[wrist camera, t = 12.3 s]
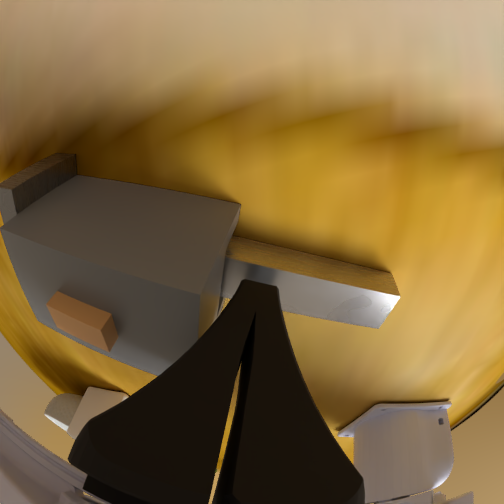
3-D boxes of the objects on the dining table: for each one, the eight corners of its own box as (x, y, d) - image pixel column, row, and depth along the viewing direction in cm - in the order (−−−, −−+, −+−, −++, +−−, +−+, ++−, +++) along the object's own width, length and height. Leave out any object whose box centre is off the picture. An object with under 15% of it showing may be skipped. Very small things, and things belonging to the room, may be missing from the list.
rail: (416, 225, 9) (457, 291, 6) (352, 337, 13) (358, 402, 10) (55, 153, 10) (-5, 186, 7) (75, 265, 14) (37, 309, 11)
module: (241, 204, 10) (191, 317, 5) (225, 297, 13) (191, 403, 8) (77, 175, 10) (-13, 238, 6) (90, 259, 13) (30, 331, 9)
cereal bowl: (135, 433, 38) (124, 463, 32) (58, 384, 33) (42, 415, 27) (179, 431, 29) (165, 475, 24) (70, 366, 24) (45, 411, 19)
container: (126, 414, 30) (97, 487, 19) (87, 384, 26) (51, 464, 16) (165, 422, 27) (137, 508, 17) (124, 391, 24) (84, 490, 13)
